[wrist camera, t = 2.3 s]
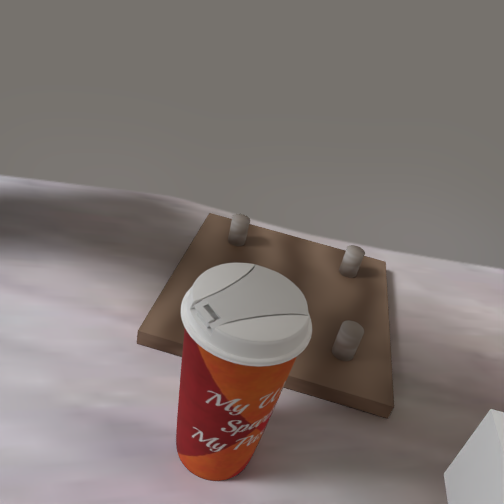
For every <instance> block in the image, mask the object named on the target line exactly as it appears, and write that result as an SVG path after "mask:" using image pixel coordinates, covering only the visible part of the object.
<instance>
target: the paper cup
mask: <svg viewBox="0 0 504 504" xmlns="http://www.w3.org/2000/svg"><path fill="white" fill-rule="evenodd" d="M181 318H182V322H183V325H184V327H185V329H184V341H183V353H182V365H181V377H180V390H179V403H178V417H177V434H176V445H177V452H178V455H179V458H180V460H181V461H182V463H183V464H184V466H185V467H186V468H187V469H188V470H189V471H190V472H192V473H193V474H194V475H196V476H198V477H200V478H203V479H206V480H212V481H221V480H226V479H230V478H232V477H234V476H236V475H238V474H239V473H240V472H241V471H243V469H244V468H245V467H246V466H247V464H248V463H249V461H250V459H251V457H252V455H253V453H254V451H255V449H256V447H257V445H258V443H259V441H260V438H261V436H262V434H263V432H264V430H265V427H266V425H267V423H268V421H269V418H270V416H271V414H272V412H273V409H274V407H275V405H276V403H277V400H278V398H279V396H280V394H281V391H282V389H283V387H284V384H285V382H286V380H287V378H288V375H289V373H290V371H291V369H292V366H293V364H294V362H295V360H296V357H297V356H298V355H299V354H300V353H301V352H303V351H304V349H305V348H306V347H307V345H308V343H309V341H310V339H311V335H312V322H311V319H310V315H309V313H308V305H307V301H306V299H305V297H304V295H303V293H302V292H301V290H300V289H299V288H298V287H297V286H296V285H295V284H294V283H293V282H291V281H290V280H289V279H288V278H286V277H285V276H283V275H282V274H280V273H278V272H276V271H273V270H270V269H268V268H265V267H262V266H259V265H255V264H250V263H226V264H221V265H218V266H215V267H212V268H210V269H208V270H206V271H205V272H204V273H202V274H201V275H200V276H199V277H198V278H197V279H196V281H195V282H194V284H193V286H192V287H191V288H190V289H189V290H188V291H187V292H186V294H185V296H184V298H183V300H182V304H181Z"/></svg>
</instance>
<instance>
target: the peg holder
mask: <svg viewBox="0 0 504 504" xmlns="http://www.w3.org/2000/svg"><path fill="white" fill-rule="evenodd" d="M249 223H250V219H249V218H248V217H247V216H245V215H242V214H236V215H233V217H232V219H229V218H226V217H222V216H219V215H215V214H211V213H209V215H208V216H207V218H206V220H205V221H204V223H203V225H202V226H201V228H200V230H199V231H198V233H197V235H196V236H195V238H194V239H193V241H192V243H191V244H190V246H189V248H188V249H187V251H186V253H185V254H184V256H183V257H182V259H181V261H180V262H179V264H178V266H177V267H176V269H175V271H174V272H173V274H172V276H171V277H170V279H169V280H168V282H167V284H166V285H165V287H164V289H163V290H162V292H161V294H160V295H159V297H158V298H157V300H156V302H155V303H154V305H153V307H152V308H151V310H150V312H149V313H148V315H147V317H146V318H145V320H144V321H143V323H142V325H141V326H140V328H139V330H138V335H137V344H141V345H144V346H147V347H151V348H154V349H157V350H161V351H164V352H167V353H171V354H174V355H177V356H181V357H182V353H183V341H184V329H185V327H184V325H183V322H182V318H181V304H182V300H183V298H184V296H185V294H186V292H187V291H188V290H189V289H190V288H191V287H192V286H193V284H194V282H195V281H196V279H197V278H198V277H199V276H200V275H201V274H202V273H204V272H205V271H206V270H208V269H210V268H212V267H215V266H218V265H221V264H226V263H250V264H255V265H259V266H262V267H265V268H268V269H270V270H273V271H276V272H278V273H280V274H282V275H283V276H285V277H286V278H288V279H289V280H290V281H291V282H293V283H294V284H295V285H296V286H297V287H298V288H299V289H300V290H301V292H302V293H303V295H304V297H305V299H306V301H307V305H308V313H309V315H310V319H311V322H312V335H311V339H310V341H309V343H308V345H307V347H306V348H305V349H304V351H303V352H301V353H300V354H299V355H298V356H297V357H296V360H295V362H294V364H293V366H292V369H291V371H290V373H289V375H288V378H287V380H286V382H285V384H284V388H288V389H291V390H294V391H298V392H301V393H305V394H308V395H311V396H315V397H318V398H321V399H325V400H328V401H331V402H335V403H338V404H341V405H345V406H348V407H351V408H355V409H358V410H361V411H365V412H368V413H371V414H375V415H378V416H381V417H385V418H388V417H389V415H390V413H391V411H392V410H393V408H394V397H393V380H392V363H391V346H390V329H389V312H388V295H387V278H386V262H384V261H381V260H377V259H373V258H370V257H366V256H364V255H365V252H364V250H363V249H361V248H360V247H358V246H353V245H351V246H348V247H347V249H346V251H345V250H341V249H337V248H334V247H330V246H327V245H323V244H319V243H316V242H312V241H309V240H305V239H301V238H298V237H294V236H291V235H287V234H283V233H280V232H276V231H273V230H269V229H265V228H262V227H258V226H255V225H251V224H249Z"/></svg>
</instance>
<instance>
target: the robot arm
mask: <svg viewBox="0 0 504 504" xmlns="http://www.w3.org/2000/svg"><path fill="white" fill-rule="evenodd" d="M444 480H445V487H446V494H447V500H448V504H504V412H500V411H497V410H494V409H490V411H489V412H488V413H487V415H486V416H485V417H484V419H483V420H482V422H481V423H480V424H479V426H478V427H477V428H476V430H475V431H474V433H473V434H472V435H471V437H470V438H469V440H468V441H467V442H466V444H465V445H464V446H463V448H462V449H461V451H460V452H459V453H458V455H457V456H456V457H455V459H454V460H453V462H452V463H451V464H450V466H449V467H448V469H447V470H446V471H445V473H444Z"/></svg>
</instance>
